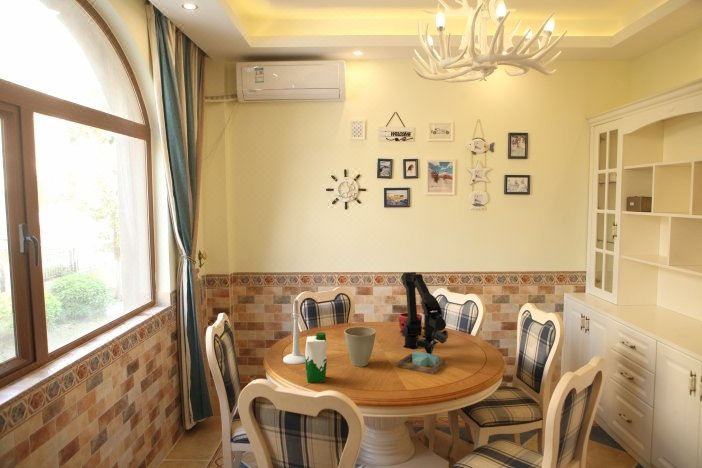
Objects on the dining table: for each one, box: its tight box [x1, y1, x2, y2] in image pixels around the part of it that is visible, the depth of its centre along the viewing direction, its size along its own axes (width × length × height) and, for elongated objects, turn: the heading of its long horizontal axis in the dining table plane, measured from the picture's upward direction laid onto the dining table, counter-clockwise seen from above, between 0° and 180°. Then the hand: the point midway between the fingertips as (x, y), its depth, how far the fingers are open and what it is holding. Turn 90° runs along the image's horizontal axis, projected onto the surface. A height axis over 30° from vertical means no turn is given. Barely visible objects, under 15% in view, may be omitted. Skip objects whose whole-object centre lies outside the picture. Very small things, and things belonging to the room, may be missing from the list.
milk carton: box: [304, 332, 328, 384], centre depth 193 cm, size 9×9×20 cm
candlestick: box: [282, 299, 305, 366], centre depth 217 cm, size 13×13×30 cm
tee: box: [411, 350, 440, 367], centre depth 211 cm, size 12×12×4 cm
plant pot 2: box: [398, 312, 423, 337], centre depth 259 cm, size 13×13×12 cm
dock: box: [396, 353, 446, 375], centre depth 210 cm, size 18×14×2 cm
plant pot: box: [343, 326, 377, 368], centre depth 212 cm, size 15×15×16 cm
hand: (429, 356), depth 219 cm, fingers closed
